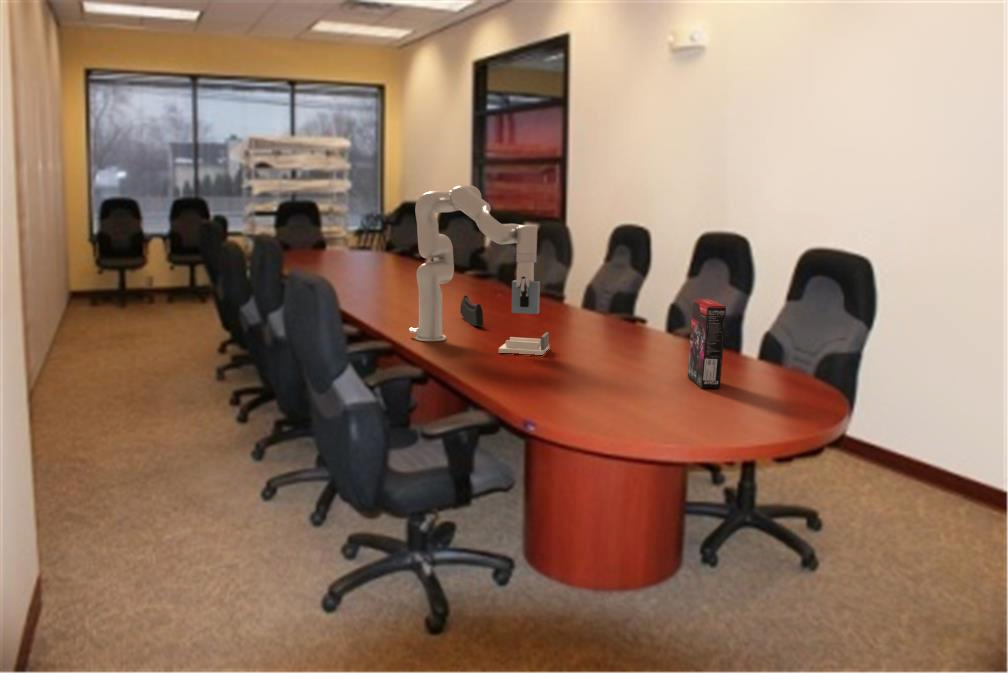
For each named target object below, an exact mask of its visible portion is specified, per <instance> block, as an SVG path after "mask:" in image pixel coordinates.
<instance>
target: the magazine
mask: <svg viewBox="0 0 1008 673" xmlns="http://www.w3.org/2000/svg"><path fill="white" fill-rule="evenodd" d="M459 311H460V314H461V316H462V318H463V319H464V320H465V322H466V323H468V322H469V323H470V324H469V323H468V324H469V325H471V324H472V325H471V326H476V327H483V326H484V313H483V308H482V304H480V303H477V304H475V303H473V302H472V301H471V300H470V298H469V297H468V295H463V298H462V299H461V302H460V310H459Z"/></svg>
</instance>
